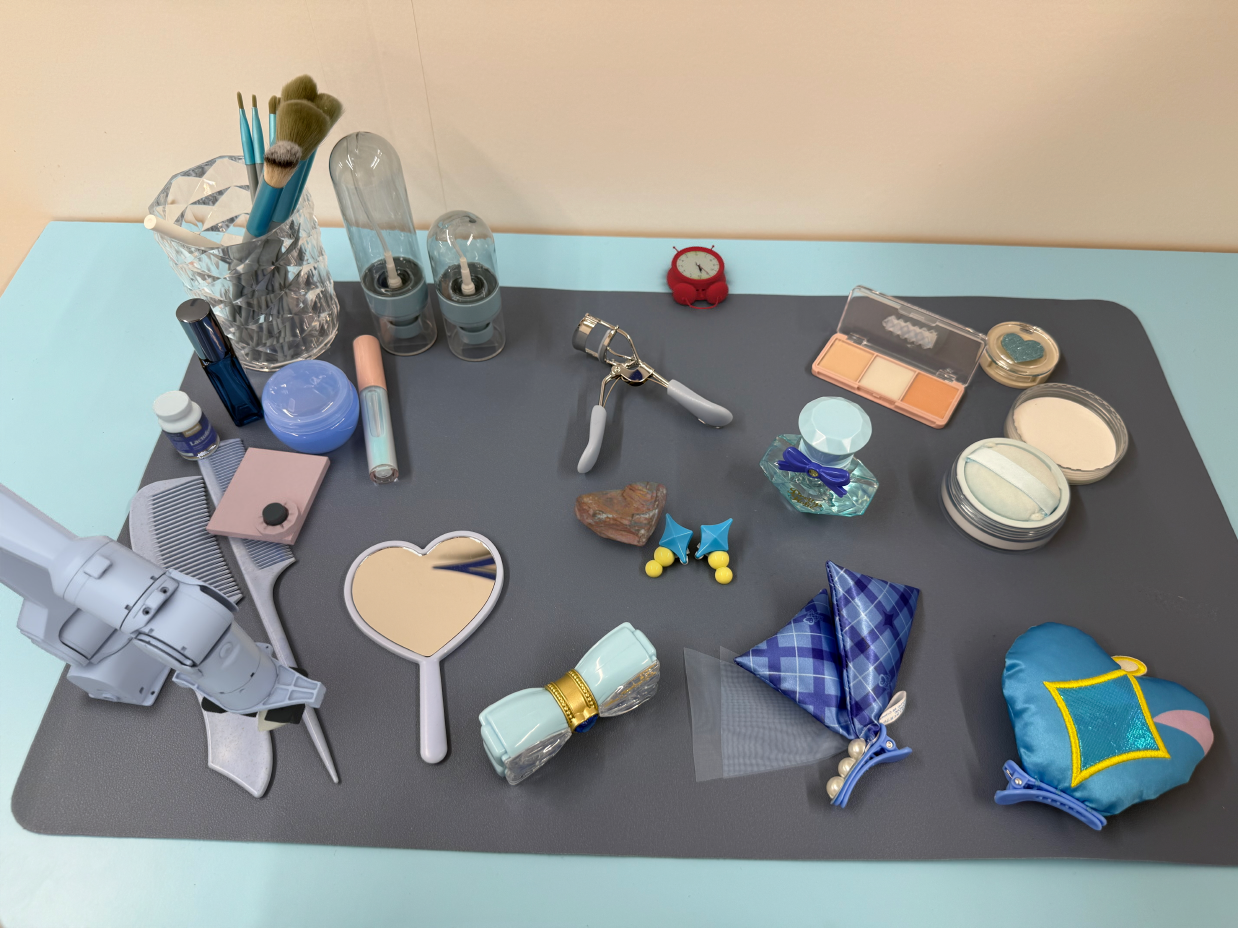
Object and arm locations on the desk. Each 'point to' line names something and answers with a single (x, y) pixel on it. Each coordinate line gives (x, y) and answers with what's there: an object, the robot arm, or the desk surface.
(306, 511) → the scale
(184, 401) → the pill bottle
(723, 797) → the desk surface
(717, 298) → the alarm clock
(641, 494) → the stone
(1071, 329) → the desk surface
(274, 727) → the beige teardrop
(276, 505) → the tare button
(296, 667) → the robot arm
